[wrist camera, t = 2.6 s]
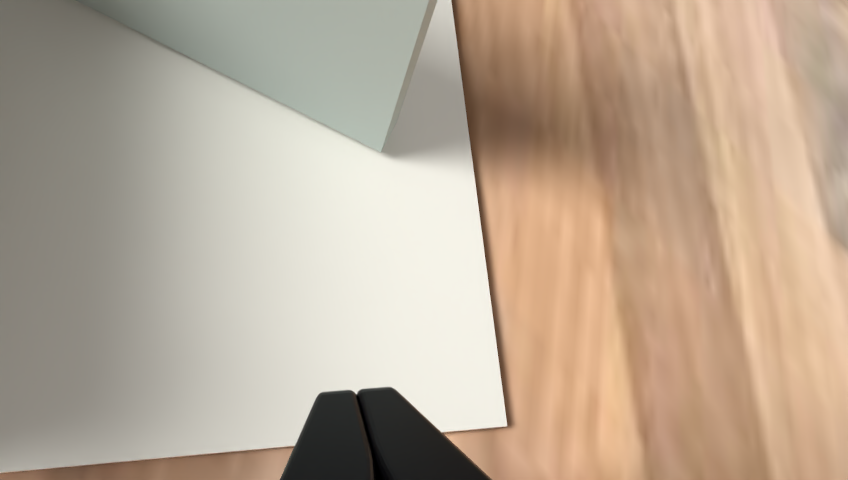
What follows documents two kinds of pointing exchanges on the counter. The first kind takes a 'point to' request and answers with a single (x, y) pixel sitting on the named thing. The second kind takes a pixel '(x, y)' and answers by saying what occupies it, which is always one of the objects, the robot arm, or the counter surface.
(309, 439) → the robot arm
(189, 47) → the hinged panel
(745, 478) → the counter surface
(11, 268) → the card
